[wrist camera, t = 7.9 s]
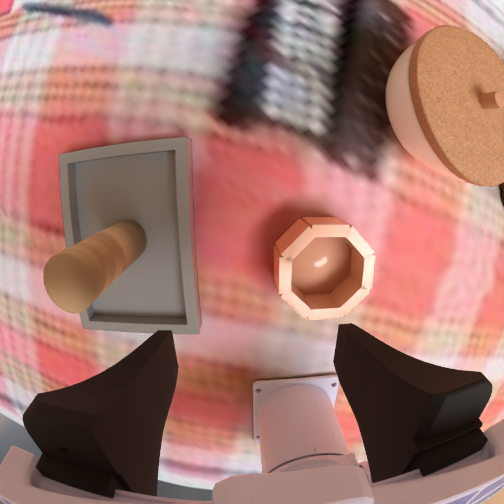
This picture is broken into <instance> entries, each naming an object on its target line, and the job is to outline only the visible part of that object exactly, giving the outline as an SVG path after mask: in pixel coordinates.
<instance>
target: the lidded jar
mask: <svg viewBox="0 0 504 504" xmlns="http://www.w3.org/2000/svg"><path fill="white" fill-rule="evenodd" d="M385 100H386V108H387V113H388V117H389V120H390V123H391V126H392V128H393V130H394V132H395V134H396V136H397V138H398V140H399V141H400V143H401V144H402V146H403V147H404V148H405V149H406V151H407V152H408V153H409V154H410V155H411V156H412V157H413V158H414V159H415V160H417V161H418V162H419V163H420V164H422V165H423V166H424V167H426V168H427V169H430V170H432V171H434V172H436V173H438V174H440V175H442V176H445V177H448V178H451V179H455V180H459V181H464V182H468V183H472V184H475V185H479V186H490V187H491V186H496V185H499V184H501V183H503V182H504V63H503V62H502V60H501V59H500V58H499V56H498V55H497V54H496V53H495V51H494V50H493V49H492V48H491V47H490V46H489V45H488V44H487V43H486V42H484V41H483V40H482V39H481V38H479V37H478V36H476V35H475V34H473V33H471V32H470V31H467V30H465V29H462V28H460V27H456V26H449V25H443V26H439V27H435V28H434V29H432V30H430V31H428V32H427V33H425V34H424V35H423V36H422V37H421V38H420V39H419V40H418V41H416V42H414V43H413V44H412V45H410V46H409V47H408V48H407V49H406V50H405V51H404V52H403V53H402V54H401V55H400V56H399V58H398V59H397V61H396V62H395V64H394V65H393V67H392V69H391V71H390V74H389V77H388V80H387V85H386V99H385Z"/></svg>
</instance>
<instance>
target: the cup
mask: <svg viewBox="0 0 504 504" xmlns="http://www.w3.org/2000/svg"><path fill="white" fill-rule="evenodd" d="M275 243H276V245H274V280H275V283H276V287H277V290H278V293H279V295H280V297H281V298H282V299H283V300H284V301H285V302H286V303H287V304H288V305H290V306H291V307H292V308H293V309H294V310H295V311H296V312H297V313H298V314H300V315H301V316H302V317H303V318H304V319H306V318H307V320H317V319H331V318H342V314H343V315H344V316H345V315H346V314H348V313H349V312H350V311H351V310H352V309H353V308H354V307H355V306H356V305H357V304H358V303H359V302H360V301H361V300H362V299H363V298H364V297H365V296H366V295H367V294H368V293H370V291H369V290H368V289H372V281H373V273H374V264H375V254H373V253H374V251H373V249H372V248H371V247H370V246H369V245H368V243H367V242H366V241H365V240H364V239H363V238H362V236H361V235H360V234H359V233H358V232H357V231H356V229H355V228H354V227H353V226H352V225H350V224H348V223H346V222H344V221H342V220H340V219H338V218H336V217H302V220H301V219H300V218H299V219H298V220H297V221H296V222H295V223H294V224H293V225H292V226H291V227H290V228H289V229H288V230H287V231H286V232H285V233H284V234H283V235H282V236H281V237H280V238H279V239H278V240H277V241H276V242H275Z"/></svg>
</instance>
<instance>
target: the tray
mask: <svg viewBox="0 0 504 504" xmlns="http://www.w3.org/2000/svg"><path fill="white" fill-rule="evenodd" d="M59 174H60V192H61V205H62V216H63V225H64V233H65V241H66V247H67V249H68V248H69V247H71V246H73V245H75V244H77V243H79V242H81V241H83V240H84V239H86V238H88V237H90V236H92V235H94V234H96V233H98V232H100V231H102V230H104V229H106V228H108V227H110V226H112V225H114V224H116V223H118V222H120V221H123V220H132V221H135V222H137V223H138V224H140V225H141V226H142V228H143V229H144V231H145V233H146V236H147V246H146V249H145V251H144V253H143V254H142V255H141V256H140V257H139V258H138V259H137V260H136V261H135V262H134V263H132V264H131V265H130V266H129V267H128V268H127V269H126V270H125V271H124V272H123V273H122V274H121V275H120V276H119V277H118V278H117V279H116V280H115V281H114V282H113V283H112V284H111V285H110V286H109V287H108V288H107V289H106V290H105V291H104V292H103V293H102V294H101V295H100V296H99V297H98V298H97V299H96V300H95V301H94V302H93V303H92V304H91V305H90V306H89V307H88V308H87V309H86V310H85V311H83V312H81V313H80V317H81V321H82V325H83V328H84V329H92V330H105V331H120V332H138V333H155V332H157V331H158V330H172V334H199V332H200V328H201V323H202V321H201V310H200V299H199V287H198V274H197V260H196V244H195V226H194V205H193V177H192V139H190V138H188V137H178V138H167V139H156V140H147V141H138V142H130V143H123V144H115V145H109V146H102V147H96V148H90V149H85V150H79V151H74V152H69V153H64V154H59Z"/></svg>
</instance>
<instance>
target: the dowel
mask: <svg viewBox="0 0 504 504" xmlns="http://www.w3.org/2000/svg"><path fill="white" fill-rule="evenodd" d="M146 246H147V236H146V233H145V231H144V229H143V228H142V226H141V225H140V224H138V223H137V222H135V221H132V220H123V221H120V222H118V223H116V224H114V225H112V226H110V227H108V228H106V229H104V230H102V231H100V232H98V233H96V234H94V235H92V236H90V237H88V238H86V239H84V240H83V241H81V242H79V243H77V244H75V245H73V246H71V247H69V248H68V249H66V250H64V251H62V252H60V253H58V254H57V255H55V256H53V257H52V258H50V259H49V261H48V262H47V263H46V266H45V269H44V284H45V288H46V290H47V293H48V295H49V296H50V298H51V299H52V301H53V302H54V303H55V304H56V305H57V306H58V307H59V308H61V309H62V310H64V311H66V312H69V313H81V312H83V311H85V310H86V309H87V308H88V307H89V306H90V305H91V304H92V303H93V302H94V301H95V300H96V299H97V298H98V297H99V296H100V295H101V294H102V293H103V292H104V291H105V290H106V289H107V288H108V287H109V286H110V285H111V284H112V283H113V282H114V281H115V280H116V279H117V278H118V277H119V276H120V275H121V274H122V273H123V272H124V271H125V270H126V269H127V268H128V267H129V266H130V265H131V264H132V263H134V262H135V261H136V260H137V259H138V258H139V257H140V256H141V255H142V254H143V253H144V251H145V249H146Z"/></svg>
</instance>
